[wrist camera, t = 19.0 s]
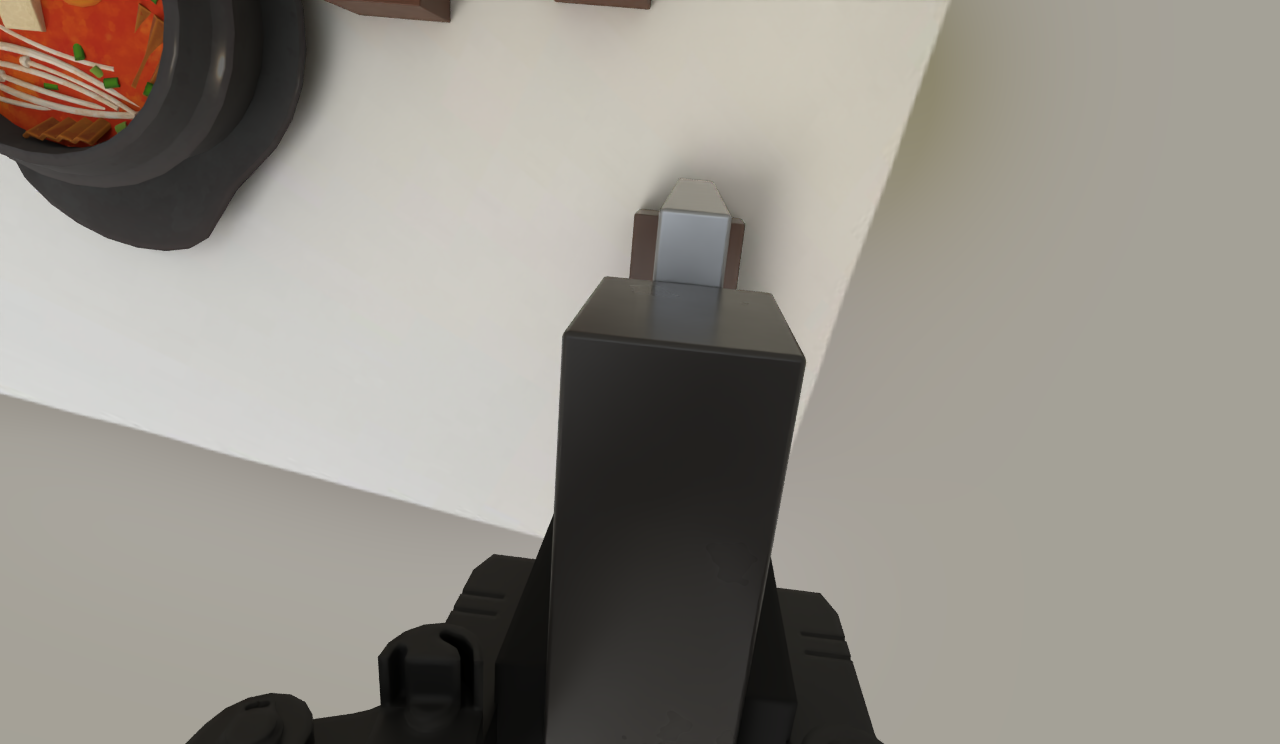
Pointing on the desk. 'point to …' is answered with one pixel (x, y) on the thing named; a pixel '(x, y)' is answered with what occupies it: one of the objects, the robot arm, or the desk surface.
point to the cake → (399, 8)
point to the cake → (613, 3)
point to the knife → (666, 491)
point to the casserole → (147, 106)
